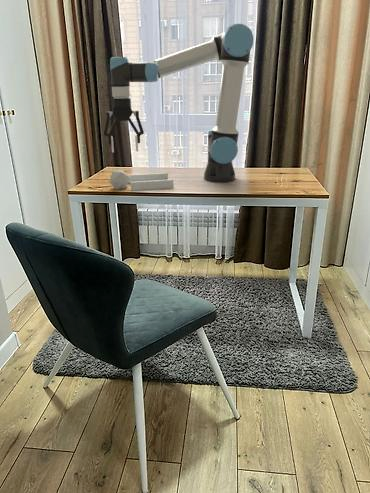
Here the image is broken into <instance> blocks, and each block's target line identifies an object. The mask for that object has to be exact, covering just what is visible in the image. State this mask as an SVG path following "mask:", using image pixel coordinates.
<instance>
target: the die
mask: <svg viewBox="0 0 370 493" xmlns="http://www.w3.org/2000/svg"><path fill="white" fill-rule="evenodd" d="M128 175H129V174H127V172H125V170H123V169H119V170H112V171H111V174H110V178H109V180H108V182H109V183H110V184H111V186H112V187H113V188H114V189H115V190H116V191H117V190H123V189H127V188H128V185H129V183H128V182H129V179H130V177H129V176H128Z"/></svg>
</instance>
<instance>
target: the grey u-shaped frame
mask: <svg viewBox="0 0 370 493" xmlns="http://www.w3.org/2000/svg"><path fill="white" fill-rule="evenodd" d="M127 175H128V176H129V177H130V179H129V182H128V184H130V190H131V191H142V190H155V189H156V190H157V189H158V190H159V189H173V188H174V186H175V185H174V179H172V178H171V179H169V173H168V172H157V173H140V174H127Z"/></svg>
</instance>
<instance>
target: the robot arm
mask: <svg viewBox="0 0 370 493" xmlns="http://www.w3.org/2000/svg"><path fill="white" fill-rule="evenodd" d="M254 42H255V41H254V34H253V31H252V30H251V28H250V27H249V26H248V25H246V24H243V23H234V24H231V25H230V26H228V27H227V29H226V30H225V31H223V32H222V33H220V34H218V35H216V36H214V37H213V36H212V37H211V40H209V41H207V42H204V43H200V44H198V45H195V46H192V47H188V48H186V49H184V50H183V49H182V50H179V51H177V52H175V53H172V54H169V55H166V56H163V57H160V58H157V59H154V60H151V61H142V62H141V61H140V62H139V61H138V62H132V61H129V58H128V57H127V56H112V57H111V58H110V59H109V61H110V62H109V67H110V68H109V72H110V81H111V82H110V84H111V96H112V97H113V98H112V111H106V112H105V114H106V119H105V120H106V121H105V125H104V128H103V130H104V131H103V136H106V137H107V140H108V144H109V145H111V153H112V154H113V153H115V149H114V148H115V147H114V137H113V136H112V134H113V133H114V131H115V129H116V127H117V125H118V122H122V121H124V122H128V124H130V126H131V127H132V130H133V131H134V133H135V134H136V135H135V136H134V139H135V140H134V141H135V142H134V143H135V151H136V152H139V144H141V135H144V134H145V132H144V131H145V130H144V128H143V125H142V123H141V120H140V117H139V116H140V112H139V110H132V102H131V98H130V97H131V85H130V83H156V82H158V81H159V79H161V78H163V77H166V76H169V75H170V76H171V75H172V74H173V75H174V74H176V73H178V72H181V71H185V70H189V69H191V68H193V67H197V66H201V65H203V64H205V63H206V64H207V63H209V62H212V61H217V62H221V64H222V73H221V80H220V81H221V82H220V89H219V90H220V91H219V98H218V99H219V100H218V106H217V114H216V116H217V117H216V122H215V126H214V127H213V128H212V129H210V130H209V131H208V132H207V138H208V139H207V163H206V166H205V170H204V173H203V180H206V181H209V182H217V183H219V182H220V183H224V182H232V181H234V180H236V172H235V168H234V166H233V161H234V160H235V159H236V157H237V155H238V151H239V149H238V148H239V147H238V139H239V131H238V129H237V124H238V123H237V122H238V114H239V107H240V99H241V93H242V87H243V78H244V71H245V68H246V66H247V65H249V62H250V57H251V56H250V55H251V50H252V49H253V46H254ZM112 115H113V116H114V117H115V118H114V120H113V123H112V124H111V128H110V129H109V126H110V118H112ZM132 115H133V116H134V117H135V120H136V123H137V126H138V128H137V127H136V125H135V124H134V122H133V120H132V119H131V116H132ZM138 129H139V131H138ZM108 130H109V132H108Z"/></svg>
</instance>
